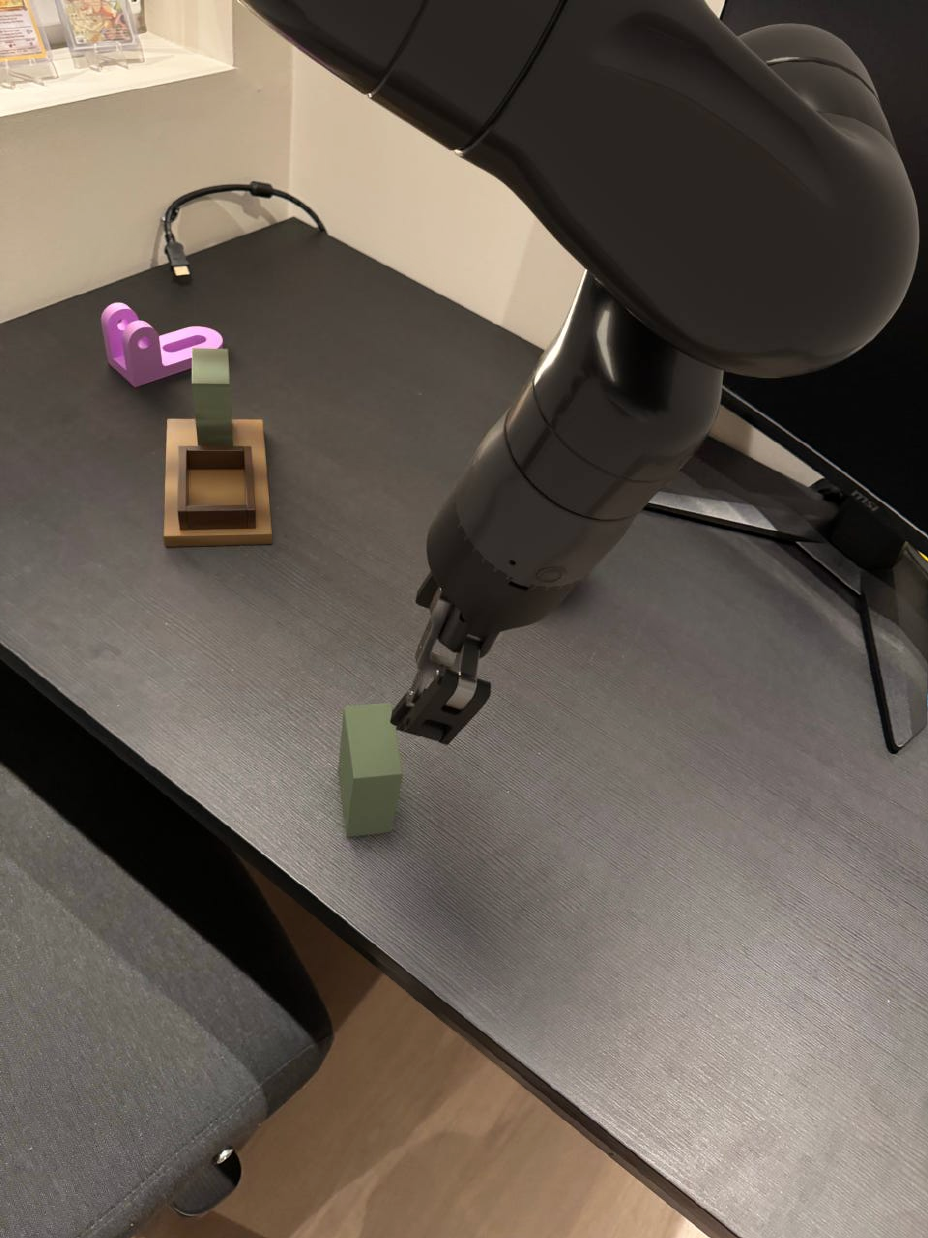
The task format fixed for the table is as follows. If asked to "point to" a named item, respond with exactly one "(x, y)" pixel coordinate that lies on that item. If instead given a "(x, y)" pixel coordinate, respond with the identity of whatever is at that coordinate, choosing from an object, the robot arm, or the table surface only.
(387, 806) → the green rectangular block
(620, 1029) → the table surface
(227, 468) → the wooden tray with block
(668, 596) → the table surface
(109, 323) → the bracket
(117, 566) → the table surface
